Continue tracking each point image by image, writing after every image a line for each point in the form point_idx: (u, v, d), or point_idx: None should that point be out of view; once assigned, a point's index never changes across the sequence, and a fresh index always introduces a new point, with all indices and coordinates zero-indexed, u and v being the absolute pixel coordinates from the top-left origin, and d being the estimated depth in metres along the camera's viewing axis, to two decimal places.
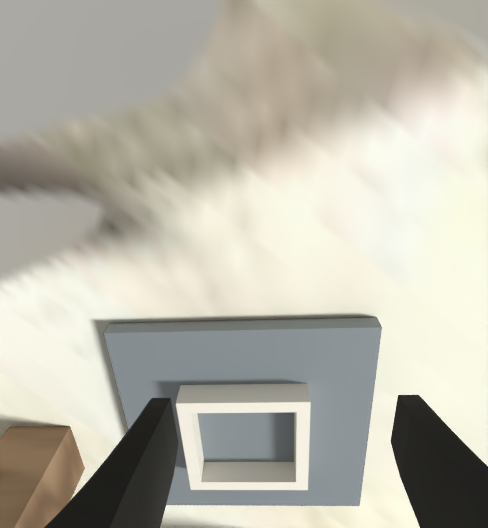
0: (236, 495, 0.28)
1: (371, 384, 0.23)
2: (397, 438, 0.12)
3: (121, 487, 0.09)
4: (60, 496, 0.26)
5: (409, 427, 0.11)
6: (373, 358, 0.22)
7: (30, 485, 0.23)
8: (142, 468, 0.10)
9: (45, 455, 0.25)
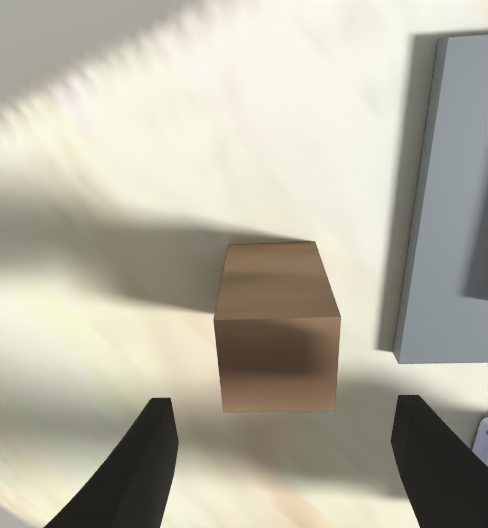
0: None
1: None
2: (397, 438, 0.12)
3: (121, 487, 0.09)
4: None
5: (409, 427, 0.11)
6: None
7: (318, 282, 0.16)
8: (142, 468, 0.10)
9: (308, 261, 0.17)
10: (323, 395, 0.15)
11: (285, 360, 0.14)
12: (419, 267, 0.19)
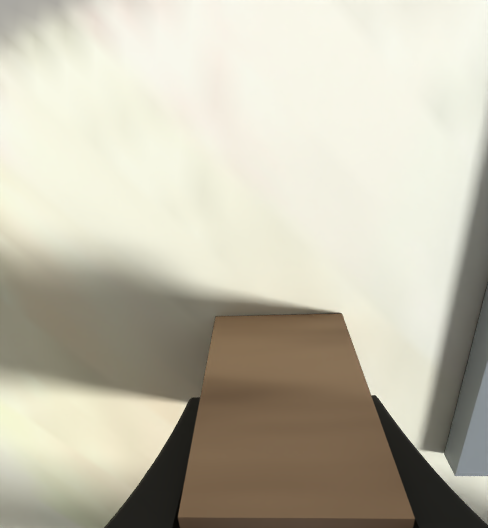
0: None
1: None
2: None
3: (176, 487, 0.09)
4: None
5: None
6: None
7: (359, 411, 0.09)
8: None
9: (337, 357, 0.11)
10: None
11: None
12: None
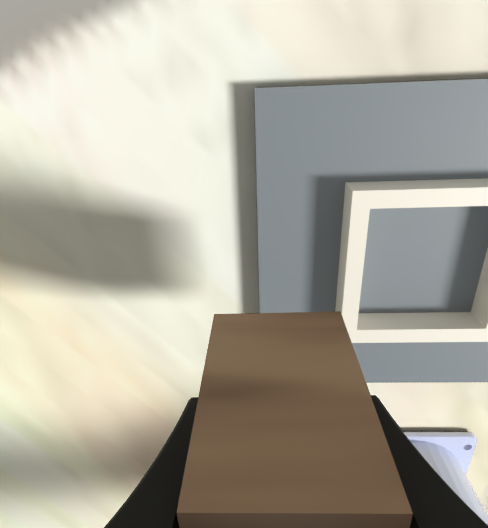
0: (381, 367, 0.22)
1: None
2: None
3: (176, 487, 0.09)
4: None
5: None
6: None
7: (357, 408, 0.09)
8: None
9: (335, 354, 0.11)
10: None
11: None
12: (264, 294, 0.20)
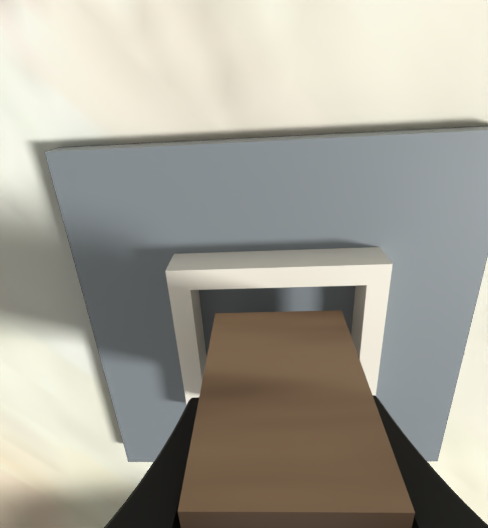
0: None
1: (484, 247, 0.14)
2: None
3: (176, 487, 0.09)
4: None
5: None
6: None
7: (358, 406, 0.09)
8: None
9: (337, 353, 0.11)
10: None
11: None
12: (110, 372, 0.17)
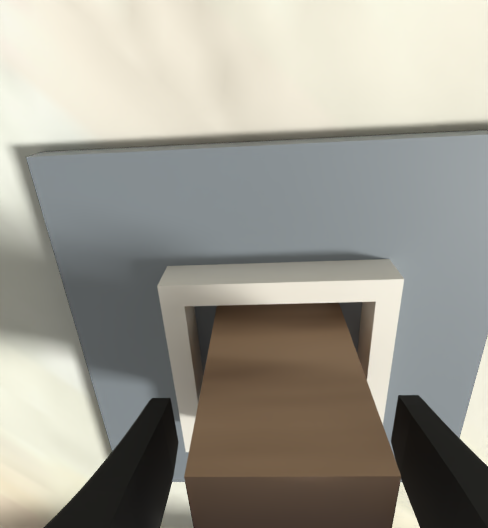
0: None
1: None
2: (397, 438, 0.12)
3: (121, 487, 0.09)
4: None
5: (409, 427, 0.11)
6: None
7: (351, 386, 0.10)
8: (142, 468, 0.10)
9: (333, 339, 0.12)
10: None
11: None
12: (100, 390, 0.16)
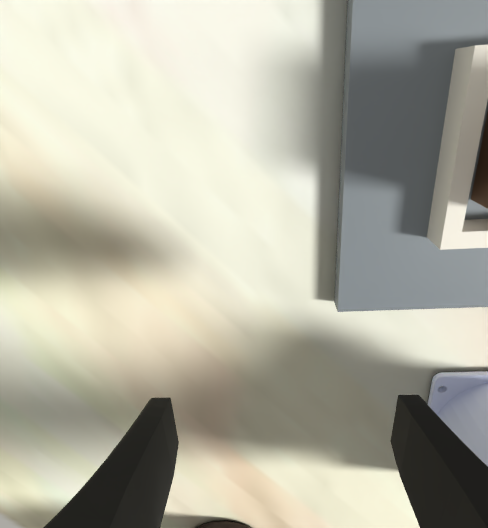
0: (477, 287, 0.19)
1: None
2: (397, 438, 0.12)
3: (121, 487, 0.09)
4: None
5: (409, 427, 0.11)
6: None
7: None
8: (142, 468, 0.10)
9: None
10: None
11: None
12: (349, 200, 0.18)
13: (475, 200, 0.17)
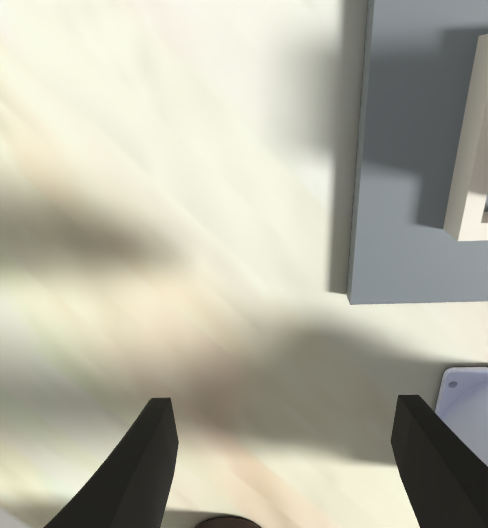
0: None
1: None
2: (397, 438, 0.12)
3: (121, 487, 0.09)
4: None
5: (409, 427, 0.11)
6: None
7: None
8: (142, 468, 0.10)
9: None
10: None
11: None
12: (366, 190, 0.17)
13: None
